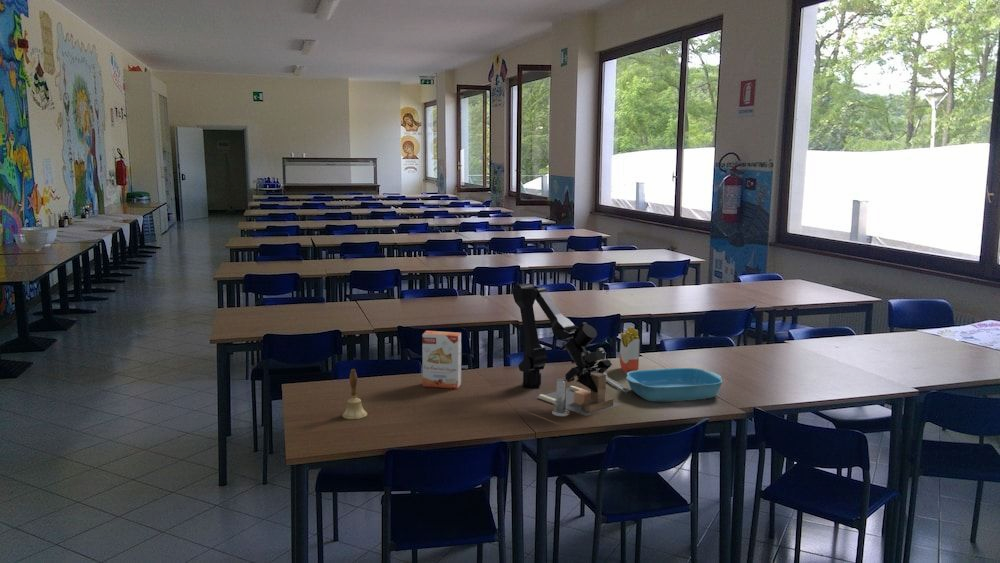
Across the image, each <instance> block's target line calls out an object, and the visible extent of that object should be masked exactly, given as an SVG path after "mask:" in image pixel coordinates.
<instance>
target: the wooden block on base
mask: <svg viewBox="0 0 1000 563" xmlns="http://www.w3.org/2000/svg"><path fill="white" fill-rule="evenodd" d="M591 378H592V380H593V382H594V384H595V386H596V387H597V390H598V392H597V393H595V392H594V391H592V390H591V389H590V391H591V393H590V401H586V402H583V403H582V404H581V410H583V411H586V412H588V413H591V412H595V411H598V410H601V409H604V408H607V407H610V406H613V402H614V398H612V397H610V396H606V390H605V387H606V384H607V382H606V375H605V374H602V373H594V374H592V373H591Z"/></svg>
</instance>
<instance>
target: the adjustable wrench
mask: <svg viewBox="0 0 1000 563" xmlns="http://www.w3.org/2000/svg"><path fill="white" fill-rule="evenodd" d="M603 374H605V375H606V383H607V382H608V383H609V384H608V383H607V384H608V385H610V384H611V385H610V386H611V387H613V386H614V387H613V388H615V387H616V388H617V390H618V389H619V390H618V391H620V392H623V393H626V392H628V393H629V391H630V389H629V388H628V387H626V386H624V385H623V384H620V383H619V382H617V381H616V380H614V379H612V378H611V377H609V376H608V372H606V371H605V372H604V373H603ZM616 388H615V389H616Z"/></svg>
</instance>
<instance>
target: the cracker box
mask: <svg viewBox="0 0 1000 563" xmlns="http://www.w3.org/2000/svg"><path fill="white" fill-rule="evenodd" d="M421 336H422V341H421V342H422V343H421V344H422V346H421V348H422V349H421V350H422V360H421V361H422V362H421V363H422V364H421V365H422V366H421V367H422V387H425V388H427V387H429V388H442V389H453V388H454V389H456V390H458V389H459V388H460V386H461V385H462V332H453V331H440V330H439V331H437V330H425V331H424V332H423V333H422V335H421Z"/></svg>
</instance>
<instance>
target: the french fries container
mask: <svg viewBox="0 0 1000 563" xmlns="http://www.w3.org/2000/svg"><path fill="white" fill-rule="evenodd" d="M640 340H641V339H640V336H639V330H638V329H635V328H634V326H627V330H625V331H624V332H620V348H619V365H620V369H621V370H622V371H623V372H624V373H625V372H626V374H627V373H628V372H630V371H637V370H639V362H640Z"/></svg>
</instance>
